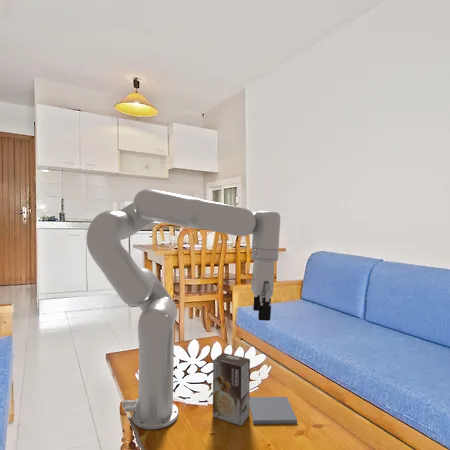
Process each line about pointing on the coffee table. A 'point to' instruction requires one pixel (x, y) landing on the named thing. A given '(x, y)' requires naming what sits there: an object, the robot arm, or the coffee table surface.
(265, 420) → the slate tile
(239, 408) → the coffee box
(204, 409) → the coffee table surface
